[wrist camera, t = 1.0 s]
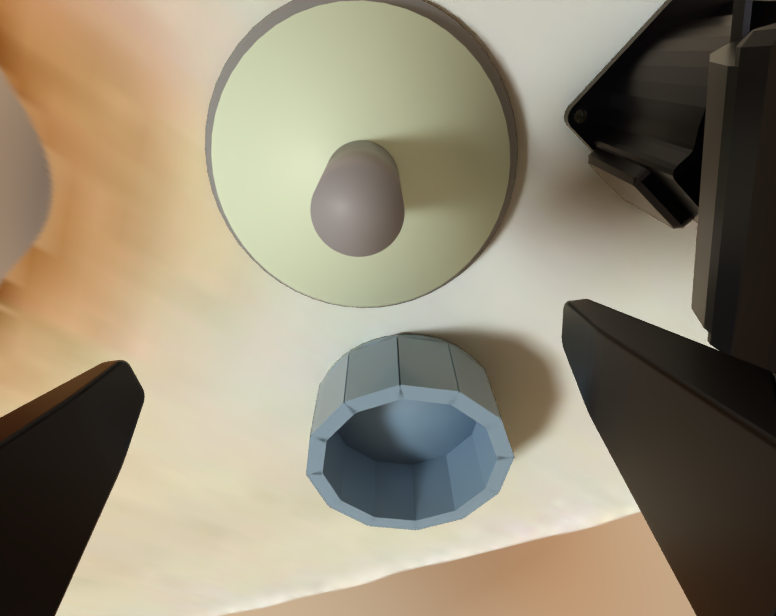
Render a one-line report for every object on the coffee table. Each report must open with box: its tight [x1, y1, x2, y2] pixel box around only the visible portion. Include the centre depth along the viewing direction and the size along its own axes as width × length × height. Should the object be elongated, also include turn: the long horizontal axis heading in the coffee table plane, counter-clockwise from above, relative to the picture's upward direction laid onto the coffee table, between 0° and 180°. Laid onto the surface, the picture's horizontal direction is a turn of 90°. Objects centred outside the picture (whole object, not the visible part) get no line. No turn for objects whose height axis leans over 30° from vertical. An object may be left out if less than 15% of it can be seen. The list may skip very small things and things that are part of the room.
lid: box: [211, 0, 510, 307], centre depth 16 cm, size 12×12×5 cm
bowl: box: [306, 334, 514, 530], centre depth 24 cm, size 10×10×4 cm
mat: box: [205, 0, 517, 308], centre depth 19 cm, size 13×13×1 cm
